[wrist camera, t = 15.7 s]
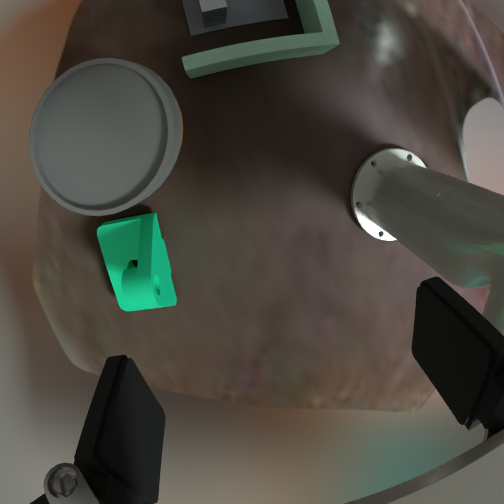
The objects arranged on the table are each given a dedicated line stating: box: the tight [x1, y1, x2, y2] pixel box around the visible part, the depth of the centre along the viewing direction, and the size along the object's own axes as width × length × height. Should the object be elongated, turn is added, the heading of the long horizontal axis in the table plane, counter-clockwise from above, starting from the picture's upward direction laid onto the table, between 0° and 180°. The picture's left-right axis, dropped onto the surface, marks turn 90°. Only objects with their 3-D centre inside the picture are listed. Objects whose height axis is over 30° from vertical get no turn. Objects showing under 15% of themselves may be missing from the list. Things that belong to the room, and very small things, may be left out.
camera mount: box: [97, 212, 177, 311], centre depth 35 cm, size 12×8×10 cm, turn 7°
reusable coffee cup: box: [29, 58, 183, 216], centre depth 27 cm, size 13×12×15 cm
